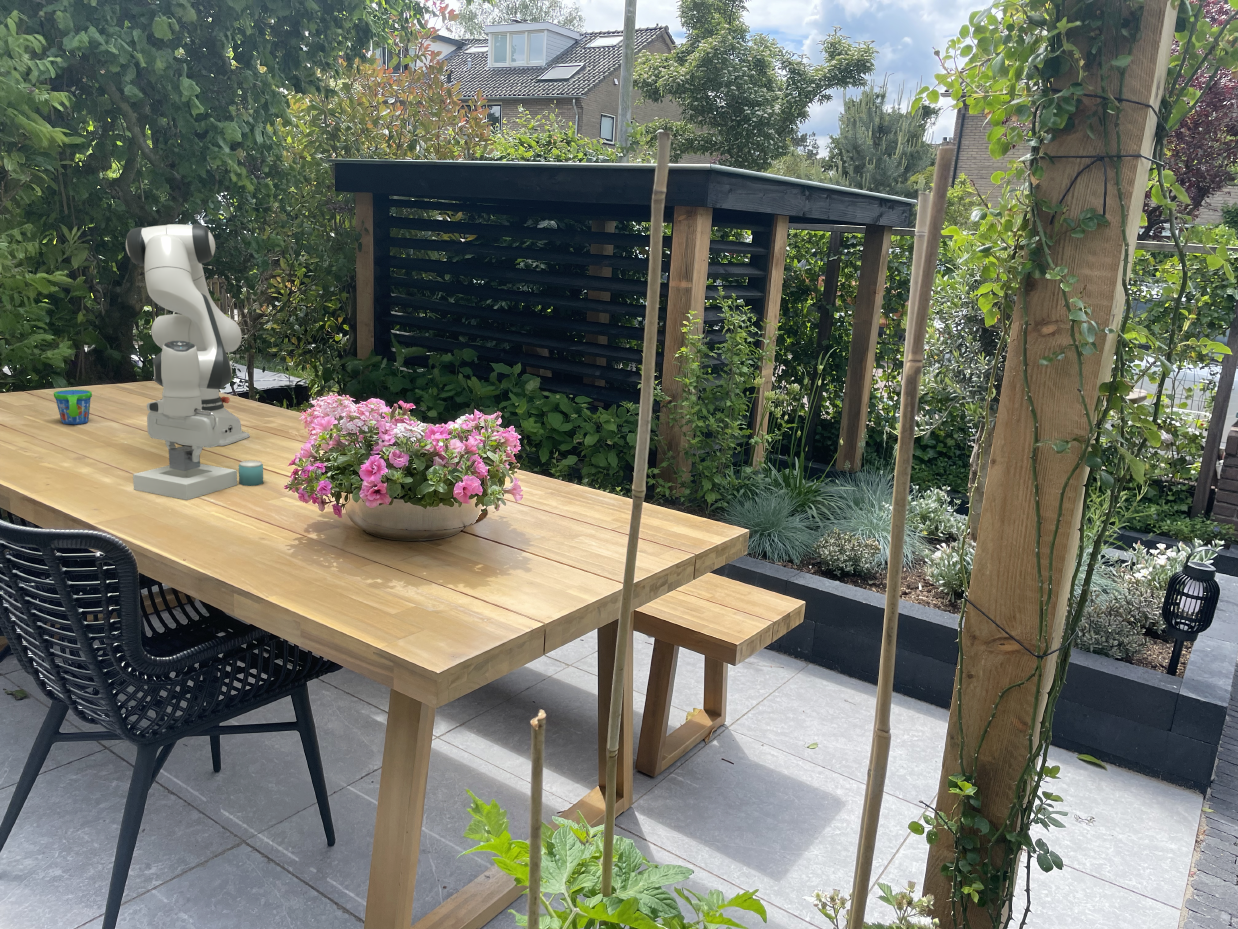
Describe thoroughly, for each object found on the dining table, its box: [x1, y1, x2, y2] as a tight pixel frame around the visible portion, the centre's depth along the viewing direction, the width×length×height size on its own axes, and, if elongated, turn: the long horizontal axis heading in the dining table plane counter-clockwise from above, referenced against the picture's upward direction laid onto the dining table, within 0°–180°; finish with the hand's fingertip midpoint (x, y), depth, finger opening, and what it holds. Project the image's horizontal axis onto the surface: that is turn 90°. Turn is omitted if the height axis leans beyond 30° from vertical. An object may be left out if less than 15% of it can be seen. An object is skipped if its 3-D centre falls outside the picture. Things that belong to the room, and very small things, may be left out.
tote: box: [132, 463, 238, 501], centre depth 228 cm, size 17×17×4 cm
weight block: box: [168, 445, 201, 471], centre depth 227 cm, size 5×5×5 cm
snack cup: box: [53, 389, 93, 425], centre depth 287 cm, size 16×10×10 cm
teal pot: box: [238, 459, 264, 487], centre depth 236 cm, size 6×6×6 cm
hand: (184, 459), depth 227 cm, fingers closed on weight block, 5 cm apart
